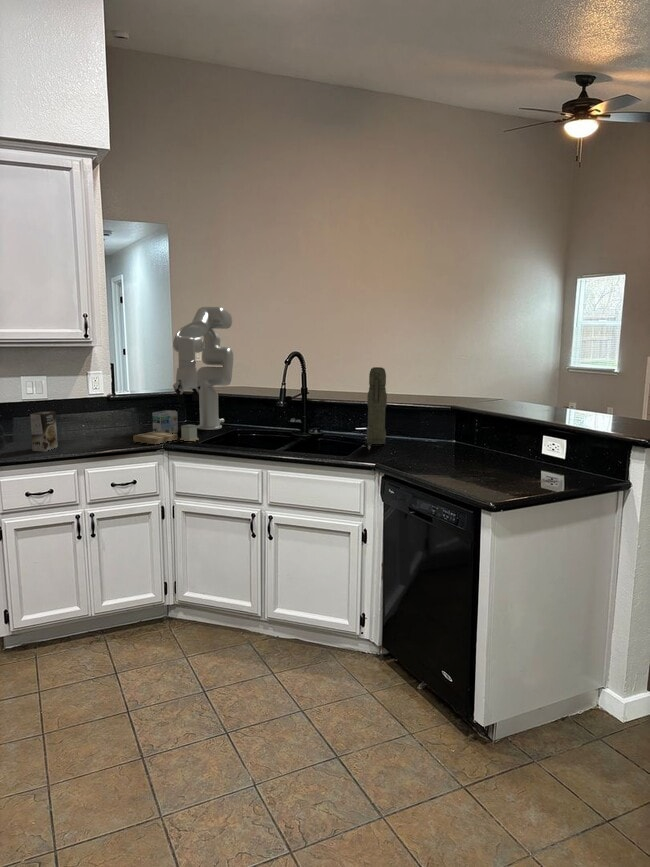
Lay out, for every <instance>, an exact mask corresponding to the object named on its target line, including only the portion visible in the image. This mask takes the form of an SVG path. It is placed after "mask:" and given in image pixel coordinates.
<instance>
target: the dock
mask: <svg viewBox="0 0 650 867" xmlns="http://www.w3.org/2000/svg"><path fill="white" fill-rule="evenodd" d="M132 437H133V438H132V439H133V442H134V441H135V442H134V443H136V442H141V443H140V444H142V443H147V444H146V445H148V444H155V445H156V444H160V443H163V442H167V441H172V440H177V439H178V438H179V436H178V433H173V434H172V433H166V432H159V431H154V432H153V431H150V432H146V433H140V434H139V433H138V434H135V435H132ZM178 440H179V439H178ZM160 445H161V444H160ZM156 446H157V445H156Z"/></svg>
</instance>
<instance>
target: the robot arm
mask: <svg viewBox="0 0 650 867" xmlns="http://www.w3.org/2000/svg"><path fill="white" fill-rule="evenodd" d="M232 317H233V316H232V314H231V313H230V312H229V311H228V310H227V309H225V308H224V307H221V306H202V307H199V308H198V309H197V311H196V313H195V314H194V316H193V319H192V321H191V322H190V323H188V324H186V325H184V326H183V327H182V326H181V327H180V328H179V329H178V330H177V331H176V333H175V336H174V338H173V342H172V348H173V349H174V351H175V352H177V353H178V367H177V369H176V376H175V383H173V384H172V387H173V390H174V392H175V393H176V396H177V397H176V399H177V403H178V404H184V394H183V393H184V391H186V390H187V391H189V390H192V392H191V393H192V394H191V396H192V397H191V398H192V401H194V402H199V424H198V425H197V430H201V431H202V430H203V431H211V430H212V431H215V430H220V429H222V428H223V427H222V426H223V425H222V424H221V423H224V422H225V419H224V418H219V394H218V393H219V392H218V391H217V389H216V388H215V386H219V387H222V386H223V387H224V386H229V385H230V384H231V382H232V379H233V378H232V377H233V366H234V352H233V350H232V348H230V347H228V346H221V337H220V335H219V334H218V333H217V332H216V331H215V329H217V330H218V329H221V330H226V329H227V330H228V329H229V328H231V327H232V324H233V318H232ZM202 337H203V338H202ZM201 352H202V353H201ZM198 353H201V361H202V363H203V364H204V365H206V366H202V367H200V368H198V369H197V367H196V364H197V362H196V354H198Z"/></svg>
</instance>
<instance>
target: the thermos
mask: <svg viewBox="0 0 650 867" xmlns="http://www.w3.org/2000/svg"><path fill="white" fill-rule="evenodd" d="M368 376H369V378H368V385H369V388H368V392H367V397H366V398H367V399H366V400H367V405H366V406H367V408H368V409H367V428H366V438H365V439H366V444H367V443H368V444H367V445H369V444H384V445H386V439H387V430H386V408H387V404H388V403H387V401H388V400H387V398H388V394H387V390H386V385H387V384H386V383H387V381H386V380H387V374H386V370H385V368H384V367H382V366H381V367H380V366H379V367H374V366H373V367H371V368H370V371H369V375H368Z"/></svg>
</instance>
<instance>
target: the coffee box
mask: <svg viewBox="0 0 650 867" xmlns="http://www.w3.org/2000/svg"><path fill="white" fill-rule="evenodd" d="M56 415H57V414H56V411H49V410H48V411H38V412H34V413H30V429H31V431H30V432H31V446H32V447H31V448H32V451H33V452H43V453H46V452H48V450H49V451H51V449H52V450H54V448H55V449H58V448H57V447H58V434H57V433H58V432H57V429H58V428H57V417H56Z"/></svg>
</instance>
